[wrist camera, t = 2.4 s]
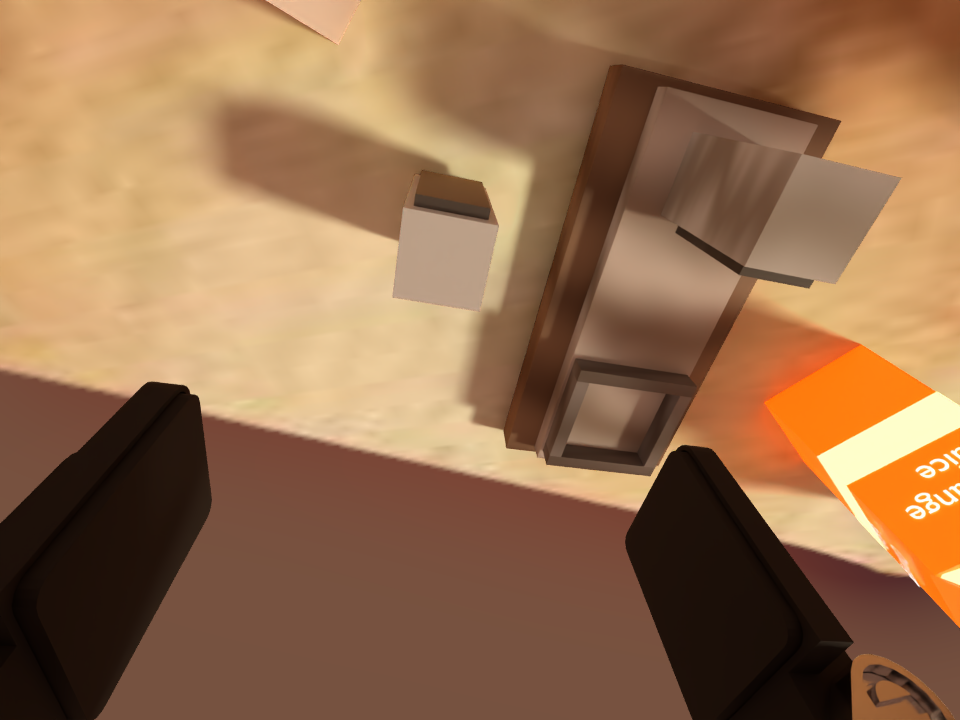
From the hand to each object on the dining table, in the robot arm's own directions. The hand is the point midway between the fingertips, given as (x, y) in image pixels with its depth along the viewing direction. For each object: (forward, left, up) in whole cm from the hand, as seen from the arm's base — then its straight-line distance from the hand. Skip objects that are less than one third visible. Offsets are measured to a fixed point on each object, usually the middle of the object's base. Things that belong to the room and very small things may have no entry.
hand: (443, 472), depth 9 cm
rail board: (+3, +13, -21) cm, 24 cm away
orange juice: (+9, +32, -21) cm, 39 cm away
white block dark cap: (0, 0, -21) cm, 21 cm away
